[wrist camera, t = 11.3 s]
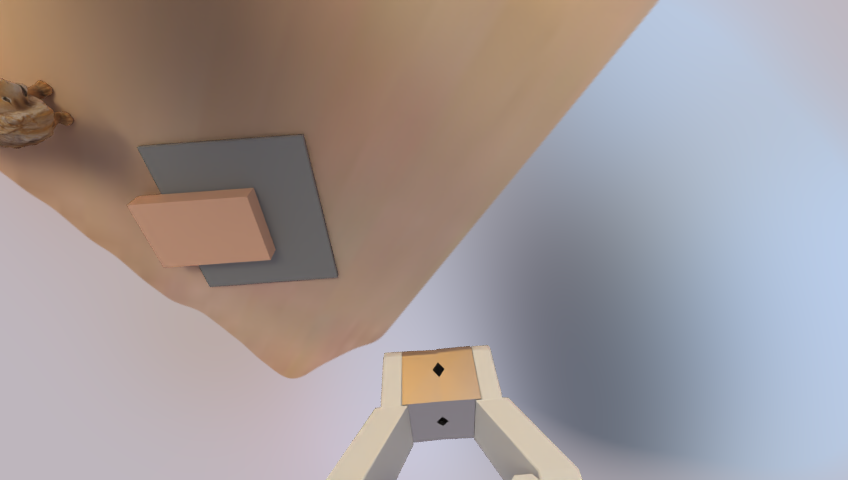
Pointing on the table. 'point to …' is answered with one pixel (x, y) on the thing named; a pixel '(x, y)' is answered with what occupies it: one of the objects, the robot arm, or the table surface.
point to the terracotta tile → (204, 227)
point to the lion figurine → (27, 114)
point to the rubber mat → (277, 194)
